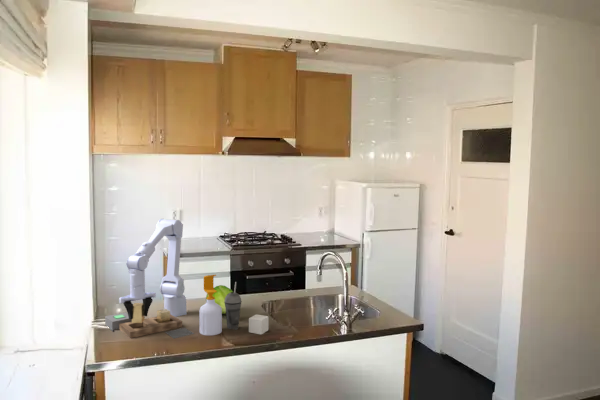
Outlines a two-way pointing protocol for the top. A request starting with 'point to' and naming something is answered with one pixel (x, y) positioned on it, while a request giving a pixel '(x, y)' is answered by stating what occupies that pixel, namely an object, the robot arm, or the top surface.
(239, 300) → the beverage cup
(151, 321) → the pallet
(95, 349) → the top surface
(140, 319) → the block
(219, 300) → the lettuce
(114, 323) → the button housing
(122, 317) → the button
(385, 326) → the top surface
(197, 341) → the top surface
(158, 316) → the block
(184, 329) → the mat
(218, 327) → the soap bottle
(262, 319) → the white cube
